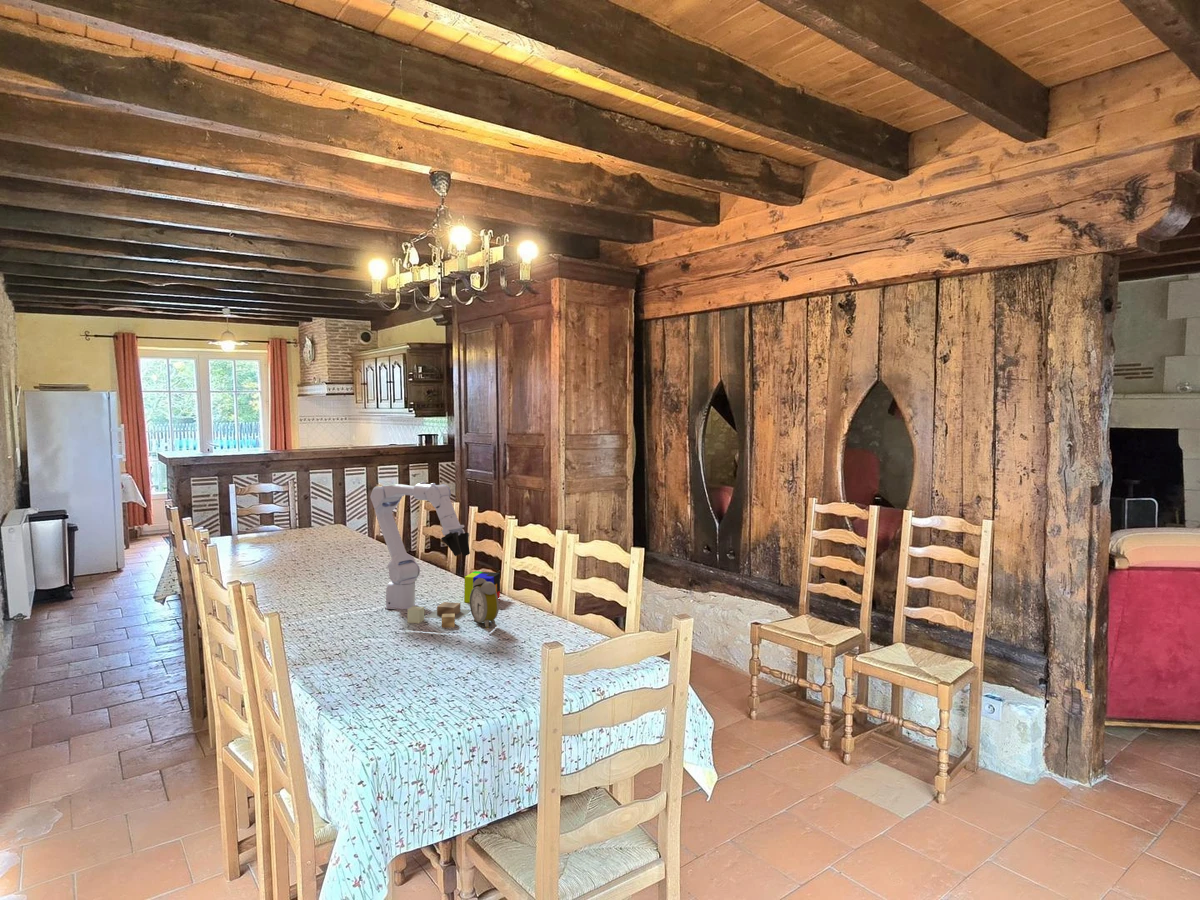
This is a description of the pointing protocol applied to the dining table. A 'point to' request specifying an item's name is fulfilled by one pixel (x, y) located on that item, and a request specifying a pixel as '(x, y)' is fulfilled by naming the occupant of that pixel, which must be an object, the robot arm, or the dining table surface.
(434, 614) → the build board
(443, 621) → the ochre block
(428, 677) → the dining table surface
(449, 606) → the base block
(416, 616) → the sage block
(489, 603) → the alarm clock
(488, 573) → the puzzle toy
